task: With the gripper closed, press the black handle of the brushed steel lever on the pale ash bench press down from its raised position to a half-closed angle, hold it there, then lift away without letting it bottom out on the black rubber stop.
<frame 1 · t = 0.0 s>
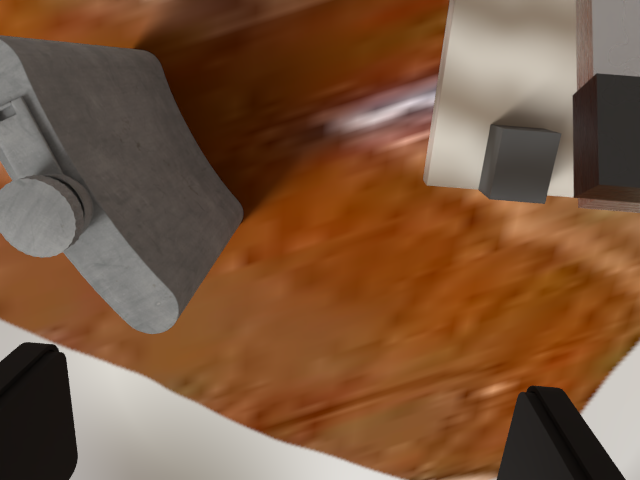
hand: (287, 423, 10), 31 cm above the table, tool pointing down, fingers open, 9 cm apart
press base: (531, 11, 35), on the table
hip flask: (182, 147, 40), on the table
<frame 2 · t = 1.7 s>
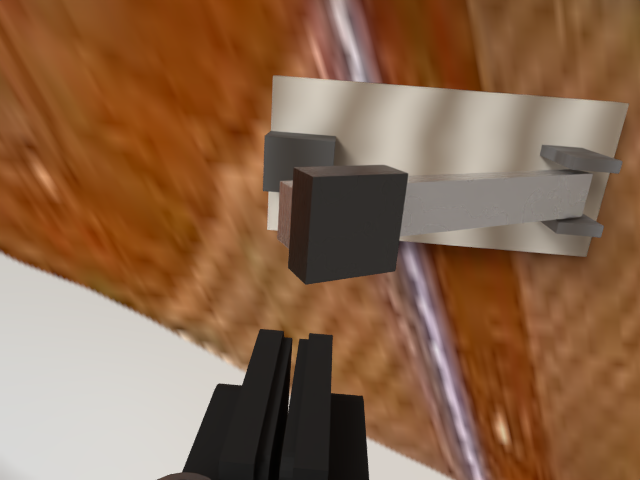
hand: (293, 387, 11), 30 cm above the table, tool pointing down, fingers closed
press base: (432, 165, 39), on the table
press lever: (468, 206, 28), point 12 cm above the table, hinge at 30.0°
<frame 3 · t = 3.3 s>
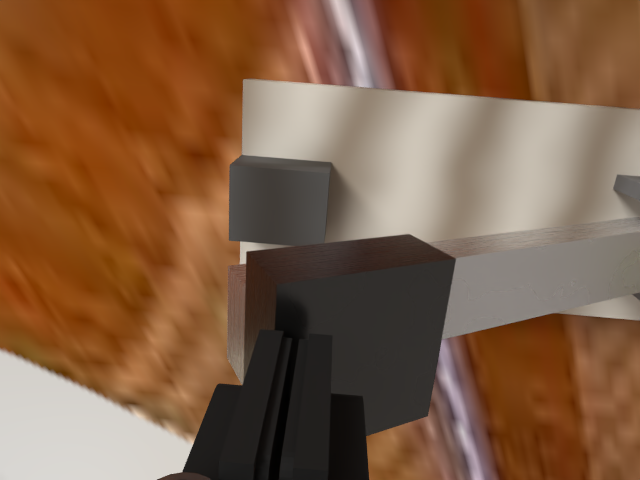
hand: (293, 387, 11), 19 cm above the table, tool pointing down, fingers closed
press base: (461, 199, 29), on the table
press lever: (537, 286, 17), point 12 cm above the table, hinge at 29.8°, touching gripper
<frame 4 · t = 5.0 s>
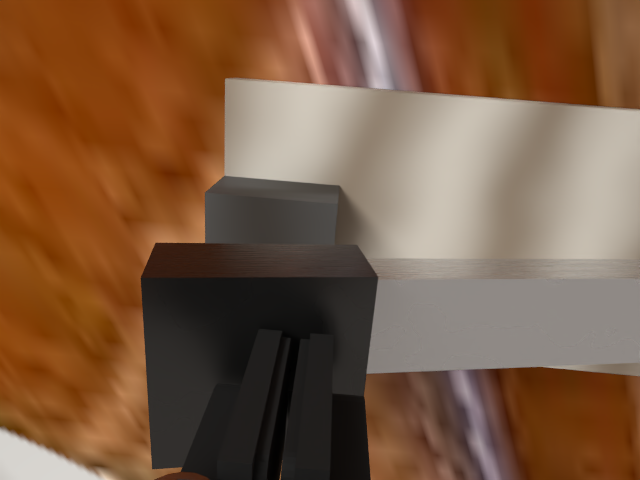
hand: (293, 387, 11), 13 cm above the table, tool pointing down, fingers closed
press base: (503, 230, 23), on the table
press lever: (548, 328, 14), point 9 cm above the table, hinge at 13.0°, touching gripper
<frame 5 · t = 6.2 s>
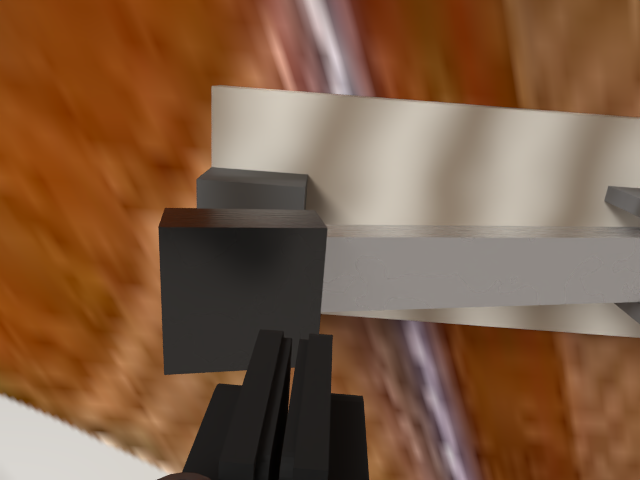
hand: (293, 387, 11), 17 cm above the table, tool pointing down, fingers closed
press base: (446, 212, 28), on the table
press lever: (463, 276, 19), point 9 cm above the table, hinge at 12.9°
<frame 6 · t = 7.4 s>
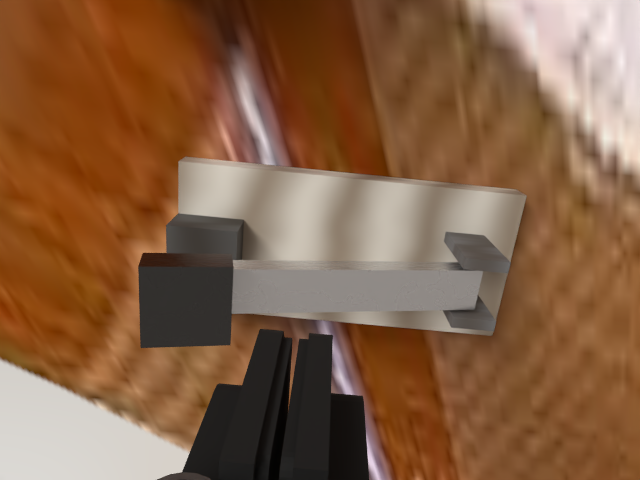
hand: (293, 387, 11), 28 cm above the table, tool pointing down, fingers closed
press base: (343, 245, 40), on the table
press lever: (326, 293, 31), point 9 cm above the table, hinge at 12.9°
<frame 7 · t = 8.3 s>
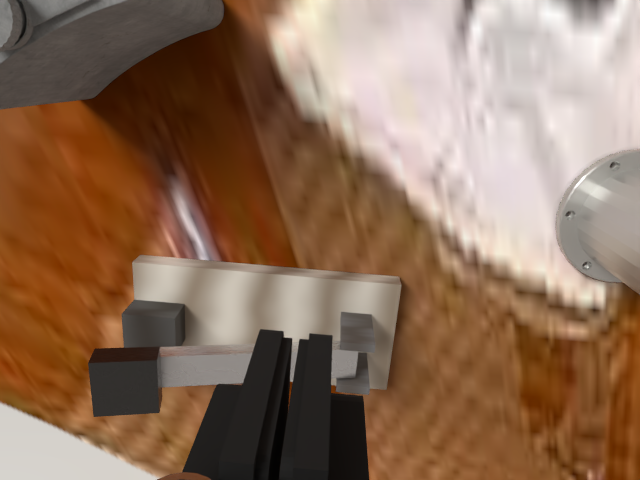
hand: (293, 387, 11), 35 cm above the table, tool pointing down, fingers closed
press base: (267, 318, 50), on the table
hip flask: (141, 41, 42), on the table
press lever: (233, 370, 41), point 9 cm above the table, hinge at 12.9°
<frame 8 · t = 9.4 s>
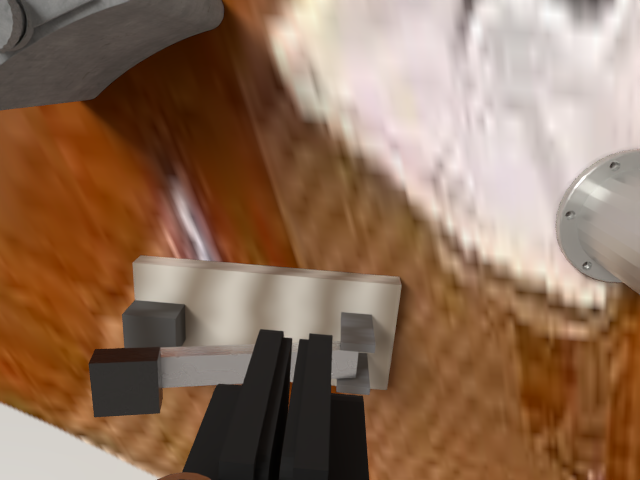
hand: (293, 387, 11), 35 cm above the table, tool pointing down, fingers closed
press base: (267, 319, 50), on the table
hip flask: (141, 41, 42), on the table
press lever: (234, 371, 41), point 9 cm above the table, hinge at 12.9°
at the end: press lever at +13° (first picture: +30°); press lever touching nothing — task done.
